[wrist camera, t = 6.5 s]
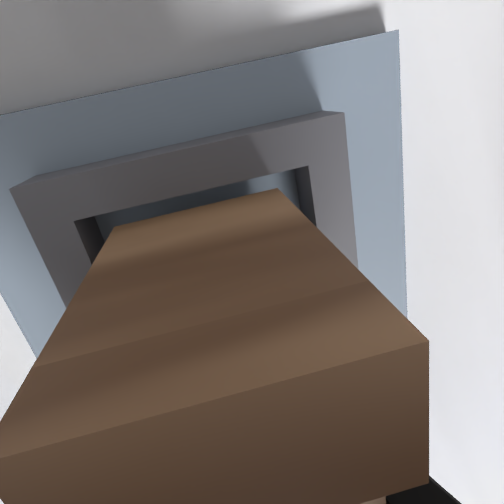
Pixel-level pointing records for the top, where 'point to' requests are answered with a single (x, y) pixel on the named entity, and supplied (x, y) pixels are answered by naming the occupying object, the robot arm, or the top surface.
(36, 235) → the jig
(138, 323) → the tan notched block
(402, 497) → the robot arm
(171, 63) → the top surface
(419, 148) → the top surface
